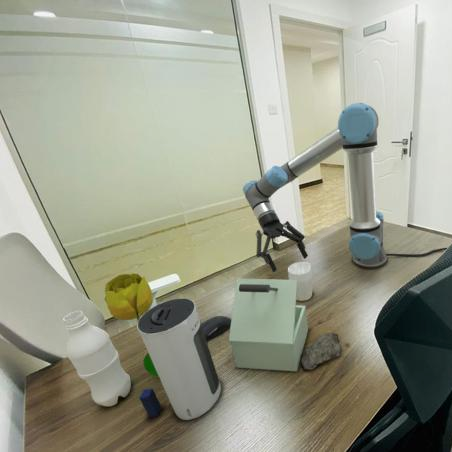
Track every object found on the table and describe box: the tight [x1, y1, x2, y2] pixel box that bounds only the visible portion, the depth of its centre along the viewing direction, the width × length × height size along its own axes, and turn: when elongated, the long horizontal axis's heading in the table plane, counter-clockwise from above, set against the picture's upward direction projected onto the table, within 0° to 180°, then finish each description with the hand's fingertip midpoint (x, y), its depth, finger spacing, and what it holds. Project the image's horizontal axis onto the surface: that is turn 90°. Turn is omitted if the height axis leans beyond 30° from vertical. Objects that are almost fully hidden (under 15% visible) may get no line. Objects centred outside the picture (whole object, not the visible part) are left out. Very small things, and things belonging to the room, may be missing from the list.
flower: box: [104, 273, 159, 377], centre depth 63 cm, size 9×8×30 cm
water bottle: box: [62, 310, 132, 407], centre depth 59 cm, size 7×7×25 cm
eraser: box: [139, 388, 162, 418], centre depth 58 cm, size 2×2×7 cm
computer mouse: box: [201, 315, 232, 342], centre depth 78 cm, size 12×17×4 cm
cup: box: [287, 261, 314, 302], centre depth 95 cm, size 9×9×12 cm
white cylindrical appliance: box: [136, 297, 222, 421], centre depth 57 cm, size 11×10×26 cm
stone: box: [300, 332, 342, 371], centre depth 72 cm, size 14×8×3 cm, turn 116°
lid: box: [228, 278, 298, 344], centre depth 63 cm, size 15×17×9 cm
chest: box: [229, 305, 309, 372], centre depth 74 cm, size 15×17×9 cm
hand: (291, 263), depth 97 cm, fingers open, 13 cm apart
